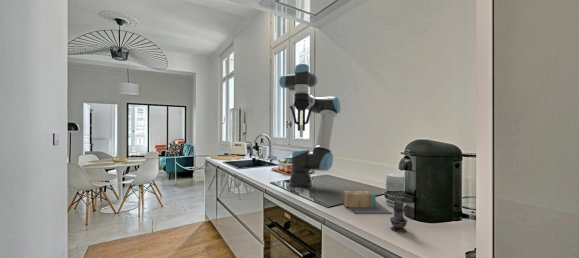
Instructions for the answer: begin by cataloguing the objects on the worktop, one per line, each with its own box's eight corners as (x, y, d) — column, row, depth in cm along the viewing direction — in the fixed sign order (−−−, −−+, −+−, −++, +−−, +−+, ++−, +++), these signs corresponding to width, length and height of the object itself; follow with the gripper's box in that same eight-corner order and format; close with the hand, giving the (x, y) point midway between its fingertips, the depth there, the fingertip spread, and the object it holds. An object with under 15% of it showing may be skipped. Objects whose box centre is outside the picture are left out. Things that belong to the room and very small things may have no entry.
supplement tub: (392, 201, 125) (392, 172, 125) (410, 205, 118) (411, 175, 118) (382, 204, 119) (382, 174, 119) (401, 209, 112) (401, 177, 112)
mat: (342, 199, 127) (342, 198, 127) (373, 199, 127) (373, 199, 127) (354, 213, 105) (354, 212, 105) (391, 213, 105) (391, 213, 105)
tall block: (342, 191, 119) (371, 191, 119) (342, 203, 119) (371, 203, 119) (345, 194, 113) (375, 194, 113) (345, 207, 113) (375, 207, 113)
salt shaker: (392, 225, 92) (392, 193, 92) (409, 229, 88) (409, 196, 89) (387, 230, 88) (387, 196, 88) (405, 234, 84) (405, 199, 84)
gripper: (289, 92, 127) (289, 136, 127) (314, 92, 128) (314, 137, 127) (289, 94, 135) (288, 136, 135) (312, 94, 135) (312, 137, 135)
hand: (301, 136), depth 131 cm, fingers closed
